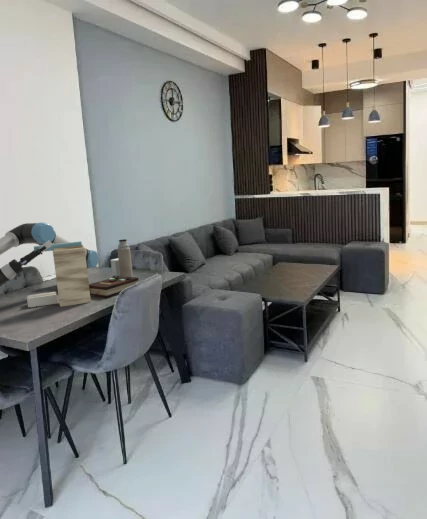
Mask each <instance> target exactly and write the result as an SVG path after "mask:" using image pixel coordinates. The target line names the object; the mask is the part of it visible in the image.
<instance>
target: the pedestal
mask: <svg viewBox="0 0 427 519" xmlns="http://www.w3.org/2000/svg"><path fill="white" fill-rule="evenodd" d="M85 248H86V247H85V246H84V245H83V244H82V246H73V247H64V248H55V249H54V250H53V251H52V256H53V264H54V271H55V272H54V273H55V280H56V287H57V293H58V294H57V295H58V296H57V297H58V302H59V307H67V306H74V305H78V304H79V305H80V304H87V303H92V299H91V296H90V289H89V284H90V282H89V274H88V273H89V272H88V268H87V264H86V255H85Z"/></svg>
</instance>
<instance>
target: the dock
mask: <svg viewBox="0 0 427 519" xmlns="http://www.w3.org/2000/svg"><path fill="white" fill-rule="evenodd" d="M57 295H58V294H57V291H51V292H44V293H38V294H36V293H35V294H30V295H27V298H26V300H27V302H26V303H27V308H28V309H29V307H30V308H35V307H36V306H37V307H42V306H47V305H55V304H58V296H57ZM37 307H36V308H37Z"/></svg>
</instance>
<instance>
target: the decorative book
mask: <svg viewBox="0 0 427 519" xmlns="http://www.w3.org/2000/svg"><path fill="white" fill-rule="evenodd" d="M137 282H139V277H137V276H136V277H134V276H133V277H124V276H113V277H110V278H107V279H103V280H99V281H96V282H93V283H89V289H90V297H94V298H96V297H97V298H102V299H103V298H105V299H108V298H109V299H111V298H112V297H115V296H119V295H120V294H119V293H120V292H121V291H122V290H123V289H125V288H127V287H129V286H131V285H133V284H135V283H137ZM137 284H138V283H137ZM118 294H119V295H118Z"/></svg>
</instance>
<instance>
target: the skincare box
mask: <svg viewBox="0 0 427 519" xmlns="http://www.w3.org/2000/svg"><path fill="white" fill-rule="evenodd" d="M110 267H111V276H112V277H113V276H120V269H119V260H118V257H117V258H112V259H110Z"/></svg>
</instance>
